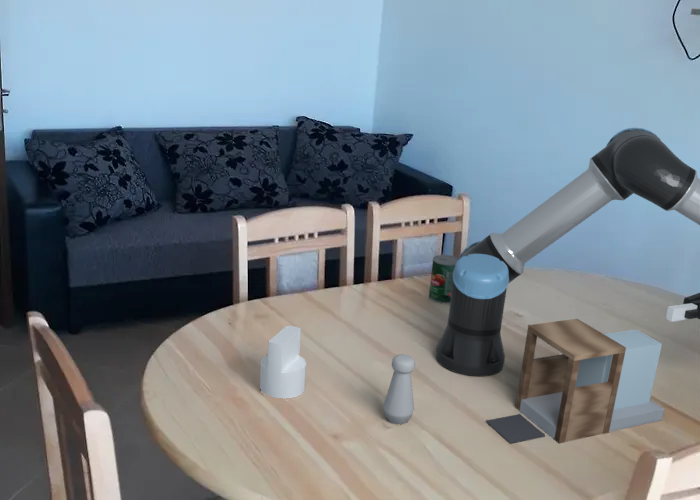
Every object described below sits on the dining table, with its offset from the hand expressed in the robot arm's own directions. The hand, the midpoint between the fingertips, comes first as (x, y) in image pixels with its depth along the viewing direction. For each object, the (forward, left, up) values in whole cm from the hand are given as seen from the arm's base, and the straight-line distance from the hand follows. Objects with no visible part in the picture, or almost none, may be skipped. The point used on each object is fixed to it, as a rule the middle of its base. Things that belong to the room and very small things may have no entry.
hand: (669, 314), depth 155 cm
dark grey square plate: (-28, -20, -20) cm, 40 cm away
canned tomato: (-47, +42, -20) cm, 66 cm away
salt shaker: (-50, -24, -20) cm, 59 cm away
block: (-9, -7, -17) cm, 21 cm away
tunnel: (-19, -14, -20) cm, 31 cm away
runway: (-13, -10, -20) cm, 26 cm away
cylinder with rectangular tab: (-74, -20, -20) cm, 79 cm away
